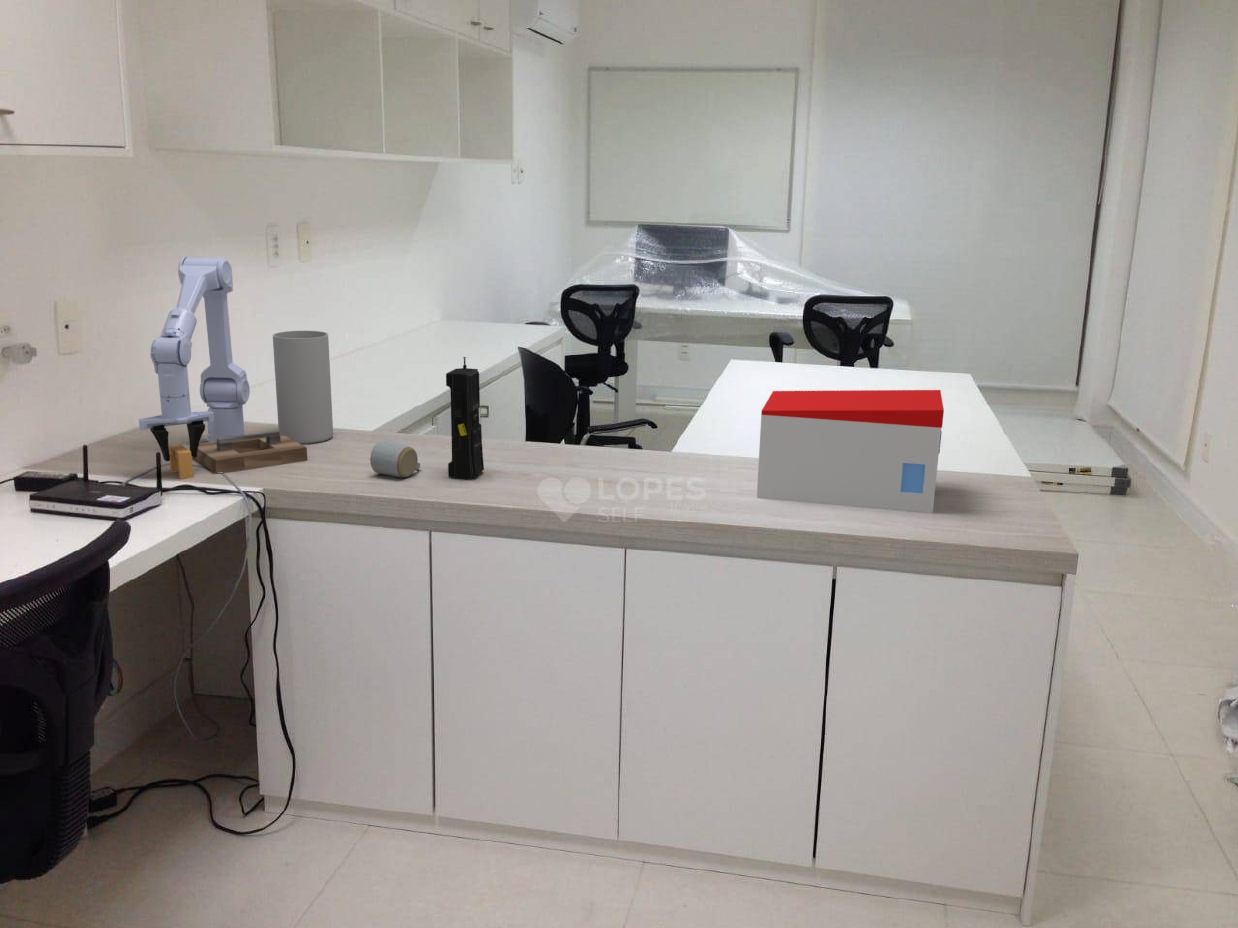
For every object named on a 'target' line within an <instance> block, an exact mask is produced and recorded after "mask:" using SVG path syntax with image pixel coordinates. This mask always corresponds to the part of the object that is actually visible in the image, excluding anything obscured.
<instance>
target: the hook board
mask: <svg viewBox="0 0 1238 928" xmlns="http://www.w3.org/2000/svg"><path fill="white" fill-rule="evenodd" d="M193 459H194V460H196V461H197V462H199V463H200V464H202V465H203V466H205V467H206V468H207V469H208V470H210V469H212V470H211V471H212V472H213V473H214V474H216V475H219V473H218V472H223V473H222V474H225V473H226V474H227V473H232V472H240V471H247V470H252V469H260V468H267V467H272V466H278V465H279V466H280V465H285V464H291V463H293V464H295V463H299V462H305V461H308V460H309V459H308V447H307V446H305V445H304V444H300V443H298V442H296V441H294V440H292V439H290V438H288V437H286V436H285V435H283V434H281V433H280V432H279V430H270V431H269V430H268V431H264V432H263V431H261V432H254V433H247V434H246V433H245V435H238V436H230V437H223V438H217V441H215V442H208V441H207V442H202V443H201V442H199V446H198V451H197V457H195V458H193Z"/></svg>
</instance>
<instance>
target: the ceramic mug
mask: <svg viewBox="0 0 1238 928" xmlns="http://www.w3.org/2000/svg"><path fill="white" fill-rule="evenodd" d="M369 459H370V460H369V461H370V466H371V469H372V470H373V471H374V473H376V474H379V475H385V476H390V477H395V478H409V477H410V476H411V475H412V474H413V473H414V472H415V471H419V470H420V467H421V463H419V462H418V459H419V458H418V453H417V452H416V450H415V449H414V448H413V447H411V446H409V445H407V444H403V443H400V442H397V441H396V442H395V441H392V440H388V439H384V438H383V439H380V440H379V441H377V442H376V443H375V445H373V446H372V449H371V452H370V458H369Z"/></svg>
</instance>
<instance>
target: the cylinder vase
mask: <svg viewBox="0 0 1238 928" xmlns="http://www.w3.org/2000/svg"><path fill="white" fill-rule="evenodd" d="M272 345H273V360H274V361H273V363H274V364H273V365H274V376H275V377H274V378H275V393H276V394H275V395H276V408H277V424H278V426H277V427H278V431H279V432H280V433H281V434H283V435H285V436H286V437H288V438H290V439H292V440H294V441H296V442H298V443H300V444H301V445H307V444H317V443H322V442H326V441H328V440H330V439H332V438H333V436H334V425H333V424H334V423H333V405H332V404H333V403H332V384H331V380H332V379H331V365H330V364H331V363H330V346H329V345H330V343H329V333H328V332H325V331H319V330H289V331H287V330H286V331H281V332H275V333H273V334H272Z"/></svg>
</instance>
